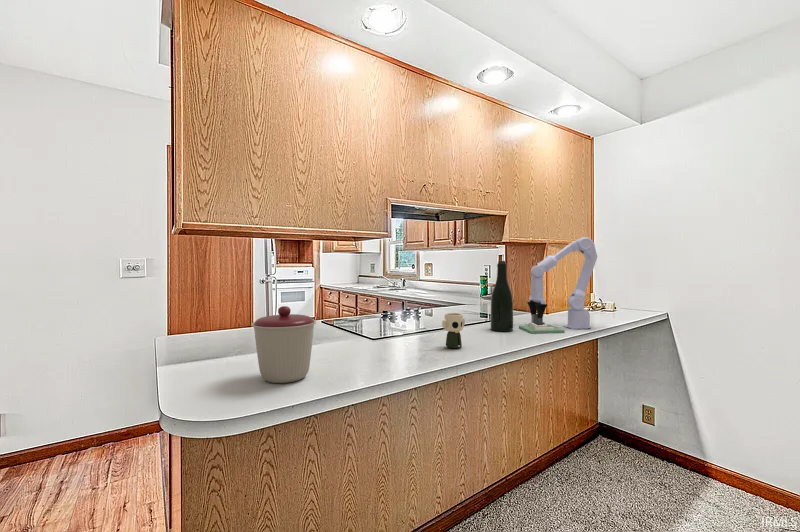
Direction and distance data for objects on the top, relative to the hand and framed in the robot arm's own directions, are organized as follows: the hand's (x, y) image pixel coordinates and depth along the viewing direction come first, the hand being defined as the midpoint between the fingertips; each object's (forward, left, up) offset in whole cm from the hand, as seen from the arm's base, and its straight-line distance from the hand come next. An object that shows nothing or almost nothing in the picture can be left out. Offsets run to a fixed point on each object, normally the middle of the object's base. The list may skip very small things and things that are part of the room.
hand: (536, 316), depth 204 cm
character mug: (+52, +41, -5) cm, 66 cm away
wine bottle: (+21, +8, -5) cm, 23 cm away
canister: (+110, +74, -5) cm, 133 cm away
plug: (0, 0, -5) cm, 5 cm away
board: (+3, +11, -5) cm, 12 cm away
